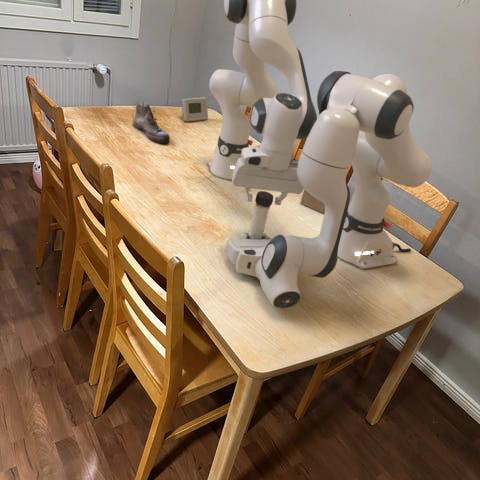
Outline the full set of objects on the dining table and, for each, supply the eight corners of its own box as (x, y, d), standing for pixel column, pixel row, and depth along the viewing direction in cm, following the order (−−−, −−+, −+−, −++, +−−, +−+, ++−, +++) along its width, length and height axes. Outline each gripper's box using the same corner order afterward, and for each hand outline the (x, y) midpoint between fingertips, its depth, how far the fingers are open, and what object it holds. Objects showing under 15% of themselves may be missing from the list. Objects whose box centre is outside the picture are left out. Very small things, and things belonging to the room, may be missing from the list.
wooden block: (323, 213, 164) (339, 164, 154) (299, 203, 168) (314, 154, 157) (332, 205, 172) (349, 158, 161) (310, 195, 176) (324, 148, 165)
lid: (251, 200, 125) (253, 192, 124) (263, 197, 128) (264, 189, 127) (263, 208, 123) (265, 200, 121) (275, 204, 126) (277, 197, 125)
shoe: (173, 145, 192) (176, 117, 186) (149, 145, 187) (151, 117, 180) (153, 123, 209) (155, 98, 203) (130, 123, 204) (132, 97, 197)
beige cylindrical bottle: (258, 248, 136) (271, 195, 127) (258, 256, 133) (272, 202, 123) (244, 245, 136) (257, 193, 126) (244, 253, 132) (257, 199, 123)
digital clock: (183, 122, 219) (186, 101, 213) (175, 116, 224) (177, 95, 219) (211, 122, 228) (214, 101, 222) (202, 115, 233) (205, 95, 228)
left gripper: (308, 157, 123) (295, 201, 130) (236, 147, 119) (227, 192, 126) (313, 167, 118) (300, 212, 125) (239, 157, 113) (229, 203, 121)
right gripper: (304, 253, 123) (288, 226, 134) (235, 253, 117) (223, 225, 128) (299, 271, 127) (283, 243, 137) (231, 272, 120) (219, 243, 131)
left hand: (263, 202), depth 125 cm, fingers open, 7 cm apart
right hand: (253, 234), depth 132 cm, fingers closed on beige cylindrical bottle, 4 cm apart
